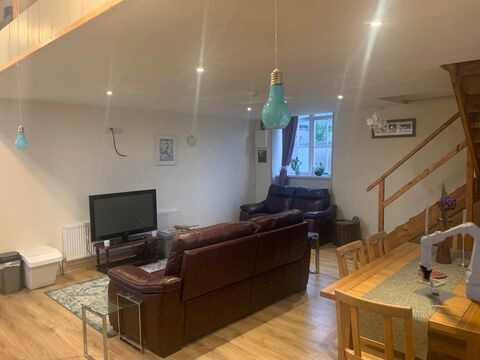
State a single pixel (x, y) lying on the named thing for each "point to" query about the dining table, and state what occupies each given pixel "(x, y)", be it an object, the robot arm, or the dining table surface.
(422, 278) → the block
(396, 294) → the dining table surface
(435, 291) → the crank
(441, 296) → the crank base
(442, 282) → the tray
